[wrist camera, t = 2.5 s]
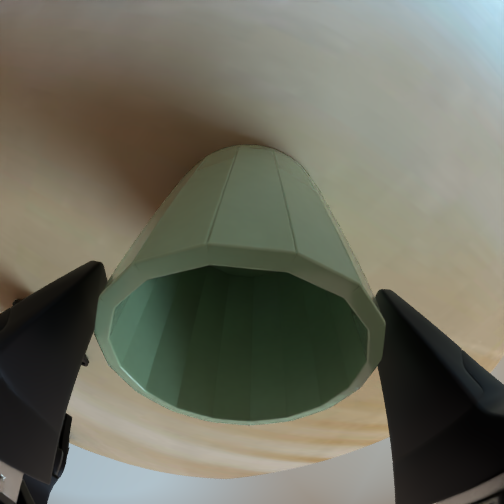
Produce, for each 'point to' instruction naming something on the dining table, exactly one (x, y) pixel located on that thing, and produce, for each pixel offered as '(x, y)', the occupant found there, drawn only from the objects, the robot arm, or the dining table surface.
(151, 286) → the cup
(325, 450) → the dining table surface
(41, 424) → the robot arm
